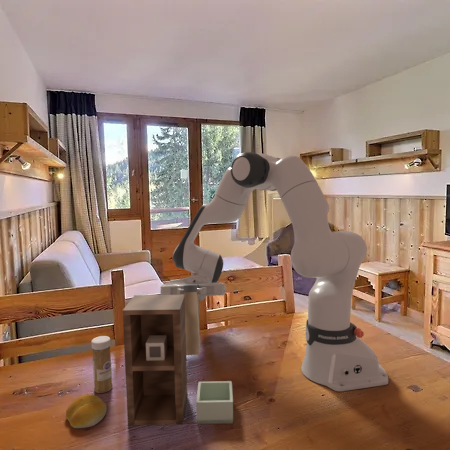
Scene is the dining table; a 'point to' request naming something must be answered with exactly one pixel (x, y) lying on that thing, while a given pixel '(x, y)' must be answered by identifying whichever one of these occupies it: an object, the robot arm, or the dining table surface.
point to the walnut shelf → (155, 369)
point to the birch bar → (192, 319)
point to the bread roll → (86, 411)
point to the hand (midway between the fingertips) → (190, 291)
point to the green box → (214, 402)
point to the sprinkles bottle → (102, 364)
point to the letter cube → (156, 347)
